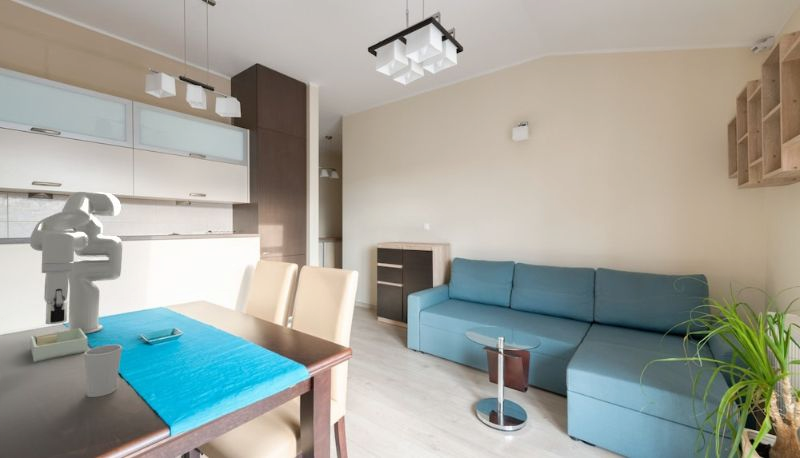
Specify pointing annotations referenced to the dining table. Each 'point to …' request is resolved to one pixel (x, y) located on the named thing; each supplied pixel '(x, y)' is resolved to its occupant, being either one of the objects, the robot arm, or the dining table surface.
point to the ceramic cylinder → (49, 309)
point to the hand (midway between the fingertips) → (56, 319)
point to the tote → (60, 345)
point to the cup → (102, 369)
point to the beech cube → (46, 339)
